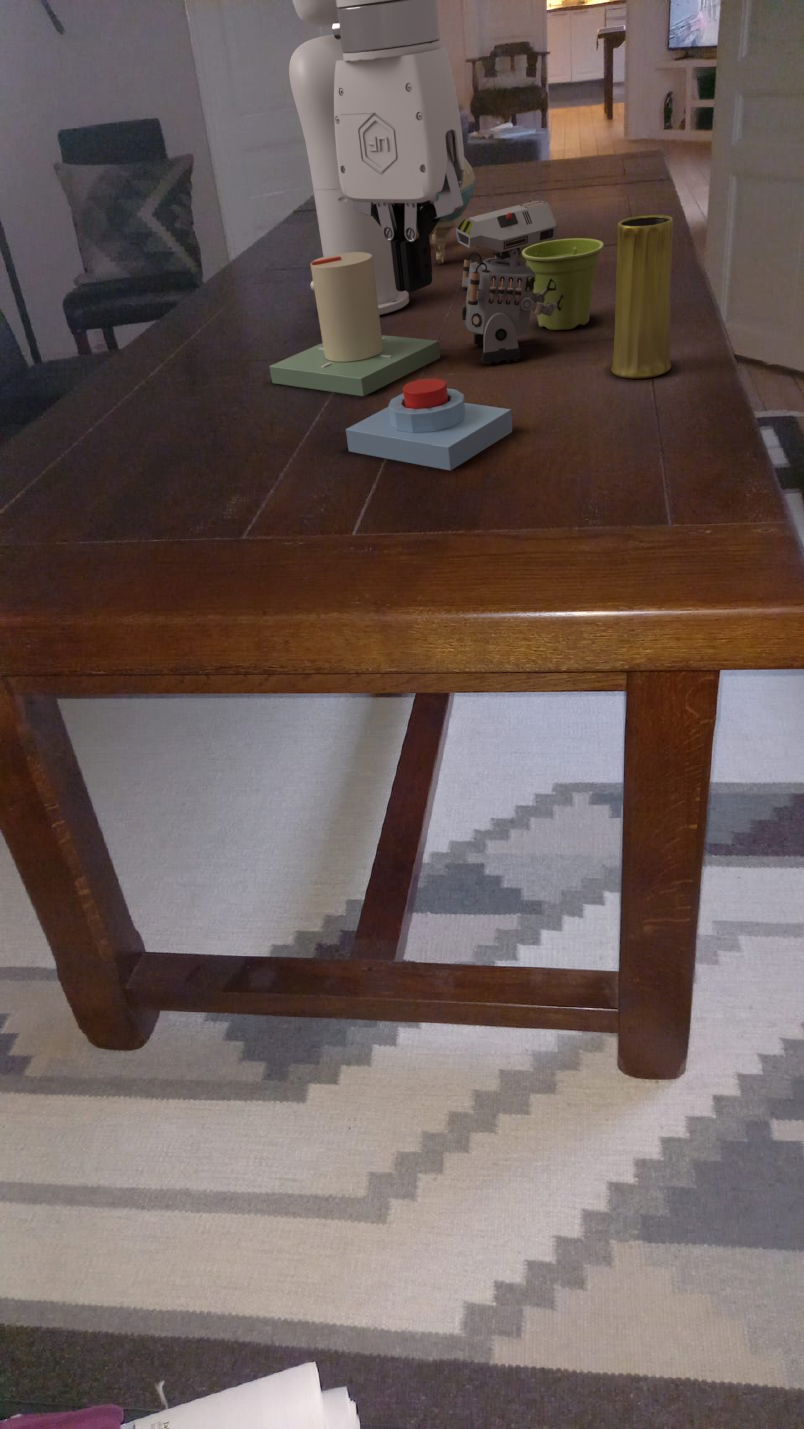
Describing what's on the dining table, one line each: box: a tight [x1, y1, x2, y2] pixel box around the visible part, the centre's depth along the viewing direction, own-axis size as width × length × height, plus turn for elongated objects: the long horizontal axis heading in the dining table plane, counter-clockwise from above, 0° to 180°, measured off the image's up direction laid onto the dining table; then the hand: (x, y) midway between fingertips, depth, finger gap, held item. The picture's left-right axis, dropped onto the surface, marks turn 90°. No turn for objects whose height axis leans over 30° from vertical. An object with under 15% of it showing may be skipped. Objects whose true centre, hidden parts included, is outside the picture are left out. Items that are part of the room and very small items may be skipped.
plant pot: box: [521, 237, 604, 331], centre depth 117 cm, size 9×9×9 cm
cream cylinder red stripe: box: [310, 252, 383, 362], centre depth 110 cm, size 7×7×10 cm
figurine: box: [455, 199, 564, 366], centre depth 109 cm, size 9×12×15 cm
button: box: [402, 378, 448, 409], centre depth 90 cm, size 4×4×2 cm
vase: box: [610, 214, 674, 380], centre depth 99 cm, size 6×6×14 cm
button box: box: [345, 387, 513, 471], centre depth 92 cm, size 12×10×4 cm
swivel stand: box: [269, 334, 441, 397], centre depth 113 cm, size 14×14×2 cm
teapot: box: [393, 156, 476, 264], centre depth 147 cm, size 24×12×30 cm, turn 166°
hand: (414, 287), depth 85 cm, fingers closed
